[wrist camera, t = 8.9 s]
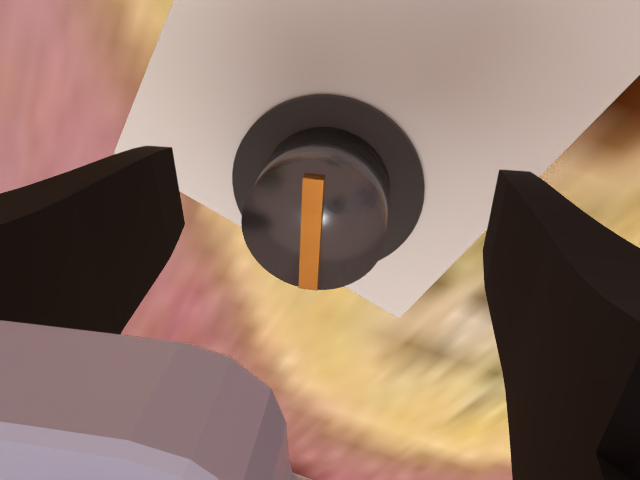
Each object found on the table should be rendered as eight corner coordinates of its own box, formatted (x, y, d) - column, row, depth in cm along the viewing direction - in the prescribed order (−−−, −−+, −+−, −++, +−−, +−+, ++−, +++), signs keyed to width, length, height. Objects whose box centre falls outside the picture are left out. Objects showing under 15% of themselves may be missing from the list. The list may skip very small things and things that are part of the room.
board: (806, -108, 15) (898, -106, 12) (399, 310, 26) (396, 364, 23) (373, -490, 13) (359, -604, 10) (120, 147, 24) (77, 185, 21)
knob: (382, 247, 23) (376, 305, 20) (265, 232, 24) (240, 286, 20) (398, 134, 20) (393, 180, 17) (264, 119, 21) (235, 161, 18)
